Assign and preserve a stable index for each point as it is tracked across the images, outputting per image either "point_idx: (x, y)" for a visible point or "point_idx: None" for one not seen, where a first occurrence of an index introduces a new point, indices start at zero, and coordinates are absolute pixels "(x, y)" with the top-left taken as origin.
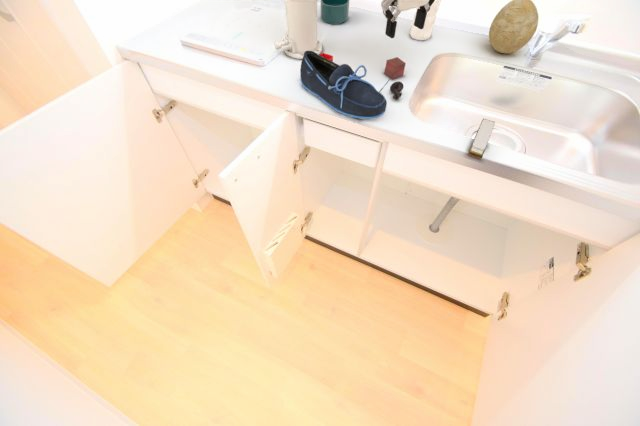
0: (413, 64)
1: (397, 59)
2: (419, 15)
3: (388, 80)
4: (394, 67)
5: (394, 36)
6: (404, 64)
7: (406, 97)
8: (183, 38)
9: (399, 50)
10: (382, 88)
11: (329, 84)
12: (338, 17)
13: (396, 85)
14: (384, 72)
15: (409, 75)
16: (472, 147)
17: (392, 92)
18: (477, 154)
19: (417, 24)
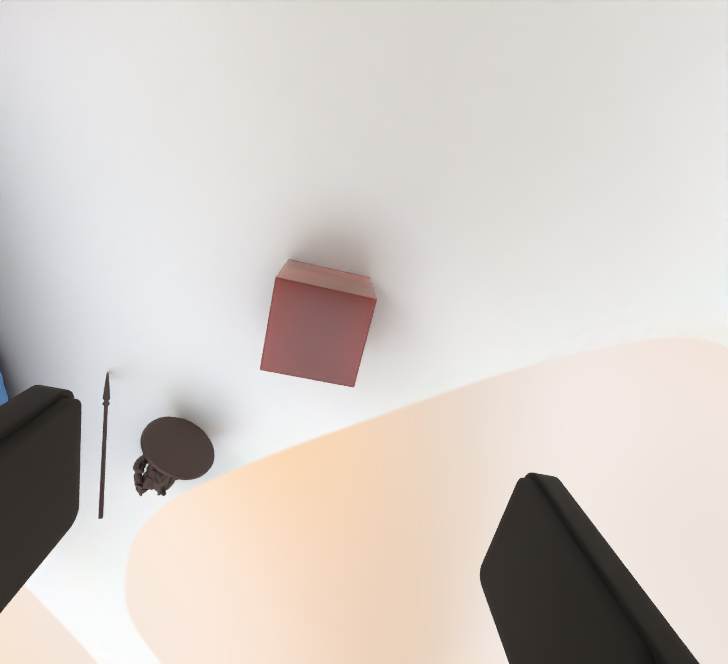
0: (504, 314)
1: (349, 321)
2: (564, 658)
3: (103, 445)
4: (261, 365)
5: (66, 529)
6: (343, 383)
7: (217, 474)
8: None
9: (608, 129)
10: (105, 402)
11: None
12: None
13: (167, 455)
14: (287, 261)
15: (387, 369)
16: None
17: (174, 421)
18: None
19: (511, 544)
